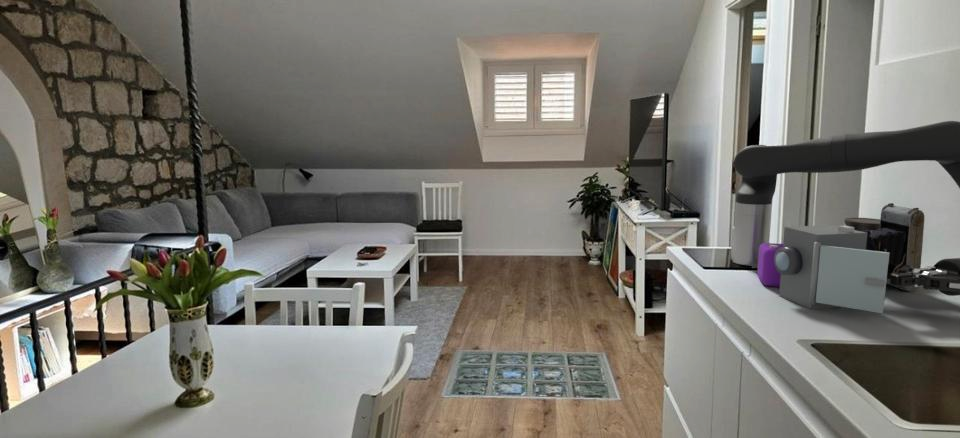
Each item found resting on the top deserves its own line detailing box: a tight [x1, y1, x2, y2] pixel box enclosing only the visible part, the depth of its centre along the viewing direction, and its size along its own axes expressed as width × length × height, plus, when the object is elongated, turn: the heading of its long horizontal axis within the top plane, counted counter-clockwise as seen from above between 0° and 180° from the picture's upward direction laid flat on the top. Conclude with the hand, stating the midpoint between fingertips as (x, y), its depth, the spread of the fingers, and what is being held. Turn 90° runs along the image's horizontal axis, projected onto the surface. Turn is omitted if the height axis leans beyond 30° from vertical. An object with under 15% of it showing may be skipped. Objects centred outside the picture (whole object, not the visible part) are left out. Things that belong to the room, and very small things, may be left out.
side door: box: [809, 242, 889, 314], centre depth 118 cm, size 2×13×13 cm, turn 50°
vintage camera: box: [861, 202, 925, 293], centre depth 139 cm, size 10×15×20 cm, turn 95°
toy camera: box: [757, 242, 783, 288], centre depth 145 cm, size 11×14×10 cm
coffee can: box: [844, 217, 880, 232], centre depth 154 cm, size 10×10×14 cm
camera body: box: [774, 224, 867, 310], centre depth 129 cm, size 10×15×17 cm
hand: (893, 280), depth 117 cm, fingers closed
